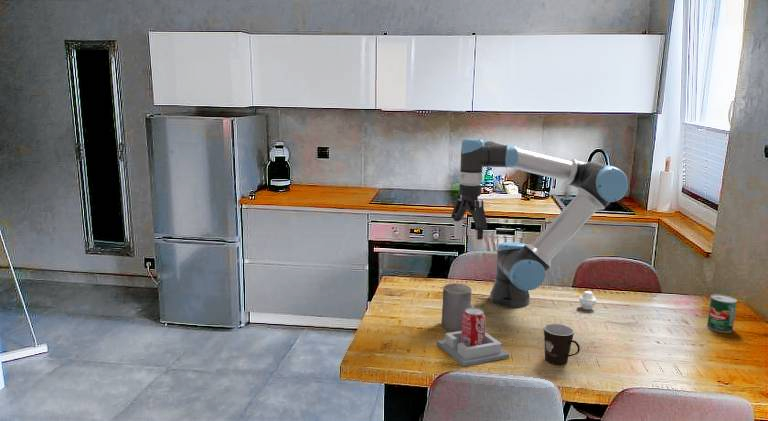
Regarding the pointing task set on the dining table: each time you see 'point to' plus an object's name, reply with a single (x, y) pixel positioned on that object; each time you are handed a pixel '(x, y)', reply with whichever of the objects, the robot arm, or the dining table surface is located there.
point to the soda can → (473, 327)
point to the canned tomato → (721, 313)
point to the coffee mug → (558, 343)
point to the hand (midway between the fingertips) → (467, 243)
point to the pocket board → (472, 349)
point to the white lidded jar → (587, 300)
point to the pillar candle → (455, 305)
